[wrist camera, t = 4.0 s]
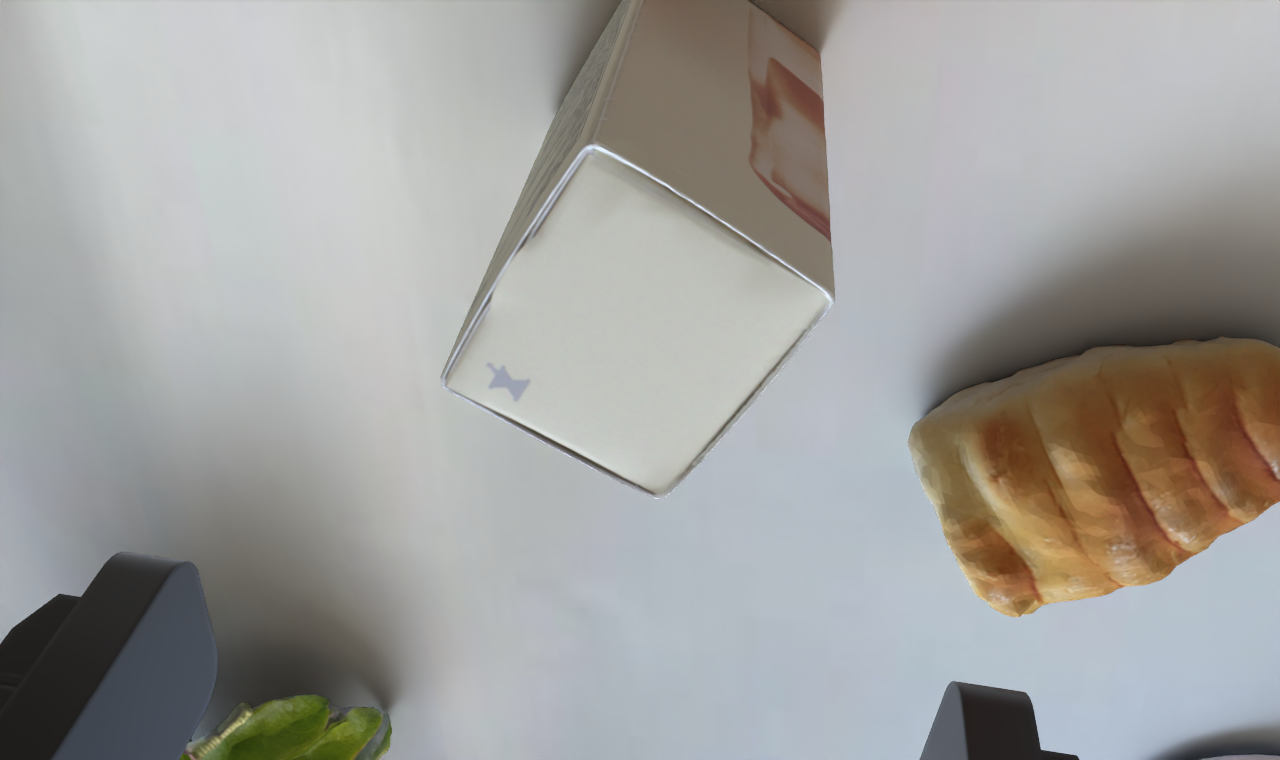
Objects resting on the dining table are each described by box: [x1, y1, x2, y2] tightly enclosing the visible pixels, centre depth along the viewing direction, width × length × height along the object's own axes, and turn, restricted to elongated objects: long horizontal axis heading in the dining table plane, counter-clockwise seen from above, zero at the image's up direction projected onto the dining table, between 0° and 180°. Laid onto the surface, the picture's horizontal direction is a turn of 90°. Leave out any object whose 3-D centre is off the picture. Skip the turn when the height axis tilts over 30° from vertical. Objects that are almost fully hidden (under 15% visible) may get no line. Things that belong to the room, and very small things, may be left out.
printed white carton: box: [441, 0, 835, 499], centre depth 21 cm, size 5×4×10 cm
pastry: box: [908, 336, 1280, 617], centre depth 27 cm, size 9×7×4 cm
